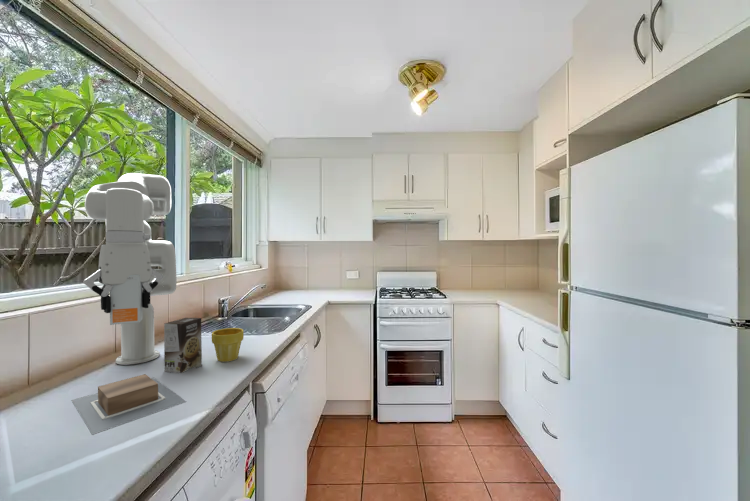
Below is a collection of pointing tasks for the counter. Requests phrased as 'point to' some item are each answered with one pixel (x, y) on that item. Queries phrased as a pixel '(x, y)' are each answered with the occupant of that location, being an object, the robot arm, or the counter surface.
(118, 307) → the skincare box
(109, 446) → the counter surface
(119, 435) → the counter surface
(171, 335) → the coffee box
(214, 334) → the plant pot
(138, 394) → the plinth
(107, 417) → the grey rectangular mat
